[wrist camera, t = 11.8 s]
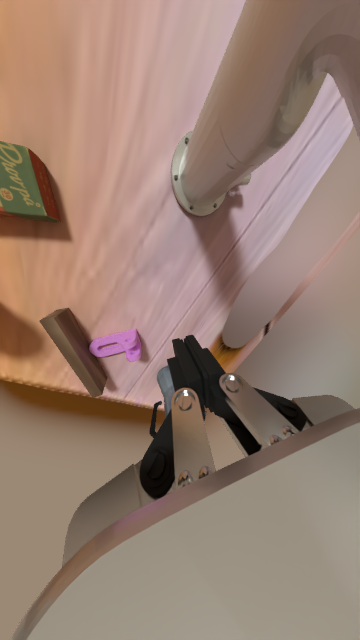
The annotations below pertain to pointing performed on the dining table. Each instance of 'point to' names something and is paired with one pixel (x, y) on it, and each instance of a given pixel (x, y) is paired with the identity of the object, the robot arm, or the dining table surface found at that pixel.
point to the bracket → (126, 343)
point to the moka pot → (167, 391)
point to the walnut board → (75, 349)
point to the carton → (25, 185)
